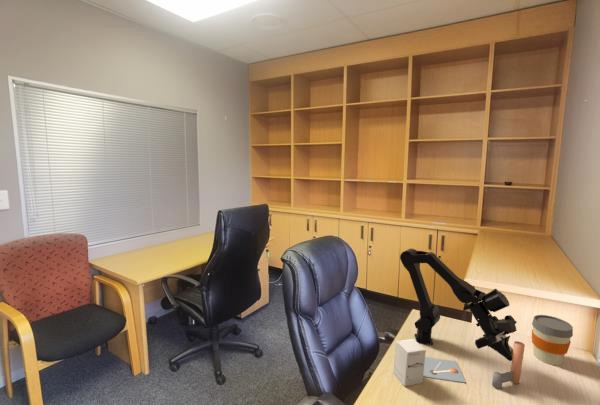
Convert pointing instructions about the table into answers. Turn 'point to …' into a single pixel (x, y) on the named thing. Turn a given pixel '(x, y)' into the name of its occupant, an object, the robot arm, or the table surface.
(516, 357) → the orange grey t-shaped piece
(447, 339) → the table surface
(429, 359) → the card
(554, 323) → the reusable coffee cup
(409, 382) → the supplement box
